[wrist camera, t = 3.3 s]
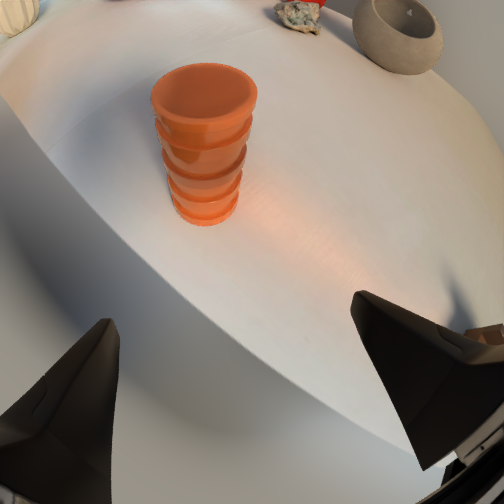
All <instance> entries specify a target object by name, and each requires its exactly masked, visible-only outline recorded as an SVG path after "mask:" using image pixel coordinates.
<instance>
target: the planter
mask: <svg viewBox="0 0 504 504" xmlns="http://www.w3.org/2000/svg"><path fill="white" fill-rule="evenodd" d="M410 9H411V10H412V16H410V15H408V14H407V11H409V10H410ZM352 26H353V32H354V35H355V38H356V40H357V42H358V44H359V46H360V47H361V49H362V50H363V51H364V52H365V54H366V55H367V56H368V57H369V58H370V59H371V60H373V61H374V62H375V63H376V64H378V65H379V66H381V67H383V68H385V69H387V70H389V71H391V72H394V73H397V74H402V75H417V74H421V73H424V72H426V71H428V70H429V69H431V68H432V67H433V66H434V65H435V64H436V63H437V61H438V59H439V57H440V55H441V52H442V48H443V36H442V31H441V28H440V25H439V23H438V21H437V19H436V18H435V16H434V15H433V13H432V12H431V11H430V10H429V9H428V8H427V7H426V6H425V5H424V4H422V3H421V2H419V1H418V0H361V1H360V2H359V3H358V4H357V6H356V8H355V11H354V14H353V20H352Z"/></svg>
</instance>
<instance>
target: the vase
mask: <svg viewBox="0 0 504 504" xmlns="http://www.w3.org/2000/svg"><path fill="white" fill-rule="evenodd" d="M39 9H40V5H39V0H0V34H2V35H4V36H7V37H10V38H11V37H13V36H15V35H17V34H19V33H20V32H22V31H24V30H25V29H26V28H28V27H29V26H31V25H32V24H33V23H34V22H35V21H36V20H37V17H38V13H39Z"/></svg>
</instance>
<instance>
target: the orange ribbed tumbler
mask: <svg viewBox="0 0 504 504" xmlns="http://www.w3.org/2000/svg"><path fill="white" fill-rule="evenodd" d="M256 100H257V87H256V85H255V83H254V81H253V80H252V79H251V78H250V77H249V76H248V75H247V74H246V73H244V72H242V71H241V70H239V69H236V68H234V67H231V66H228V65H223V64H217V63H198V64H191V65H187V66H183V67H180V68H177V69H175V70H173V71H171V72H169V73H167V74H166V75H164V76H163V77H162V78H161V79H160V80H159V81H158V82H157V83H156V84H155V86H154V87H153V90H152V92H151V105H152V109H153V113H154V115H155V116H156V120H155V125H156V130H157V135H158V139H159V142H160V144H161V145H162V158H163V162H164V166H165V169H166V171H167V178H168V183H169V187H170V190H171V193H172V199H173V203H174V206H175V209H176V211H177V213H178V214H179V215H180V216H181V217H182V218H183V219H184V220H185V221H187V222H189V223H191V224H194V225H198V226H211V225H215V224H218V223H220V222H222V221H224V220H226V219H227V218H228V217H229V216H230V215H231V214H232V213H233V211H234V210H235V208H236V205H237V201H238V195H239V188H240V184H241V178H242V168H243V165H244V162H245V157H246V151H247V146H246V142H247V140H248V138H249V135H250V130H251V125H252V118H253V116H252V112H253V110H254V108H255V105H256Z"/></svg>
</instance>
